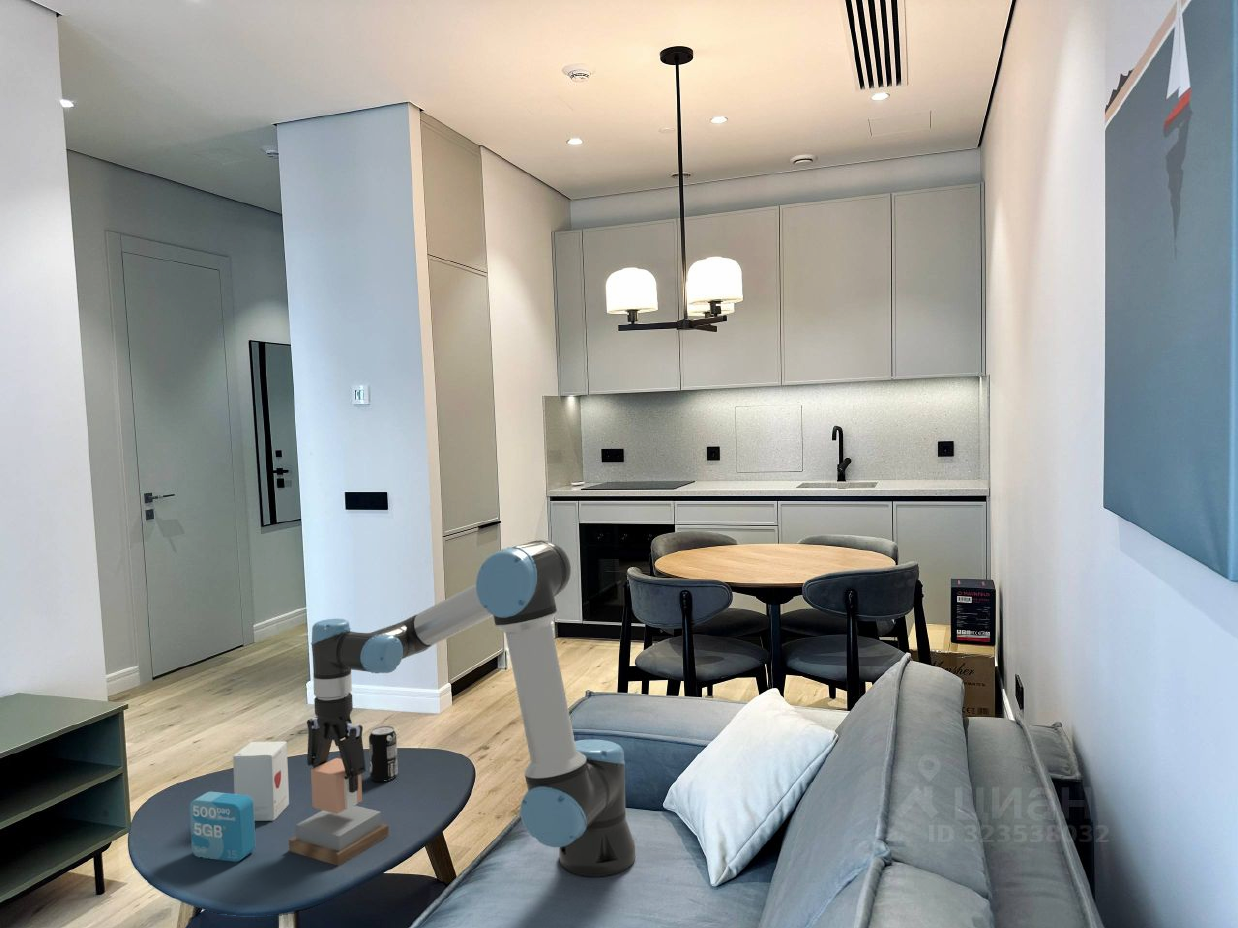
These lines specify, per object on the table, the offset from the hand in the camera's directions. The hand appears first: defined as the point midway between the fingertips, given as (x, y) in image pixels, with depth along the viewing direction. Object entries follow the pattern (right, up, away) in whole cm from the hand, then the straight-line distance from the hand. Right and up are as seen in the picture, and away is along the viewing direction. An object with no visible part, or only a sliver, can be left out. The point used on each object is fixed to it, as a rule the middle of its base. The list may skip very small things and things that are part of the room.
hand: (337, 802), depth 183 cm
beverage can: (+1, -7, +34) cm, 35 cm away
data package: (-22, -10, -3) cm, 24 cm away
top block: (0, -6, 0) cm, 6 cm away
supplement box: (-22, -9, +16) cm, 29 cm away
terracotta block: (0, 0, 0) cm, 0 cm away
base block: (0, -9, 0) cm, 9 cm away
